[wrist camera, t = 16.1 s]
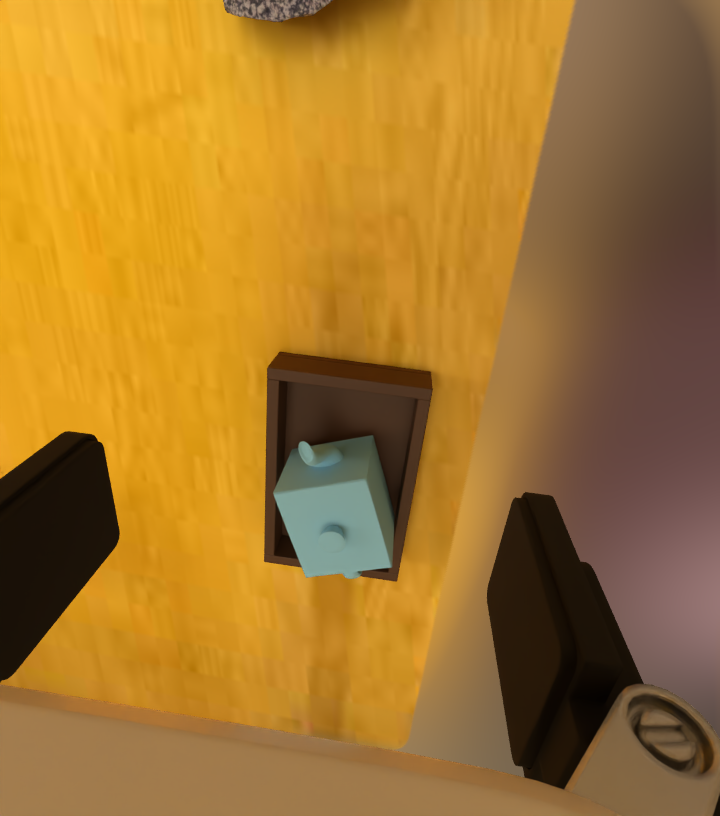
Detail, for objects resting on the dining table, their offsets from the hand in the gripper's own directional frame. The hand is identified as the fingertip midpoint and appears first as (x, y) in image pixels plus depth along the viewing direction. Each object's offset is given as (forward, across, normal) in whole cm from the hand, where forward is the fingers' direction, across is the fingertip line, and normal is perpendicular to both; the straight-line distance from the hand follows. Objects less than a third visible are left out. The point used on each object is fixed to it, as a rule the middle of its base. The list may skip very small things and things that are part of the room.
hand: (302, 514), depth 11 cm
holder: (+22, +1, +13) cm, 26 cm away
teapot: (+22, +1, +13) cm, 25 cm away
